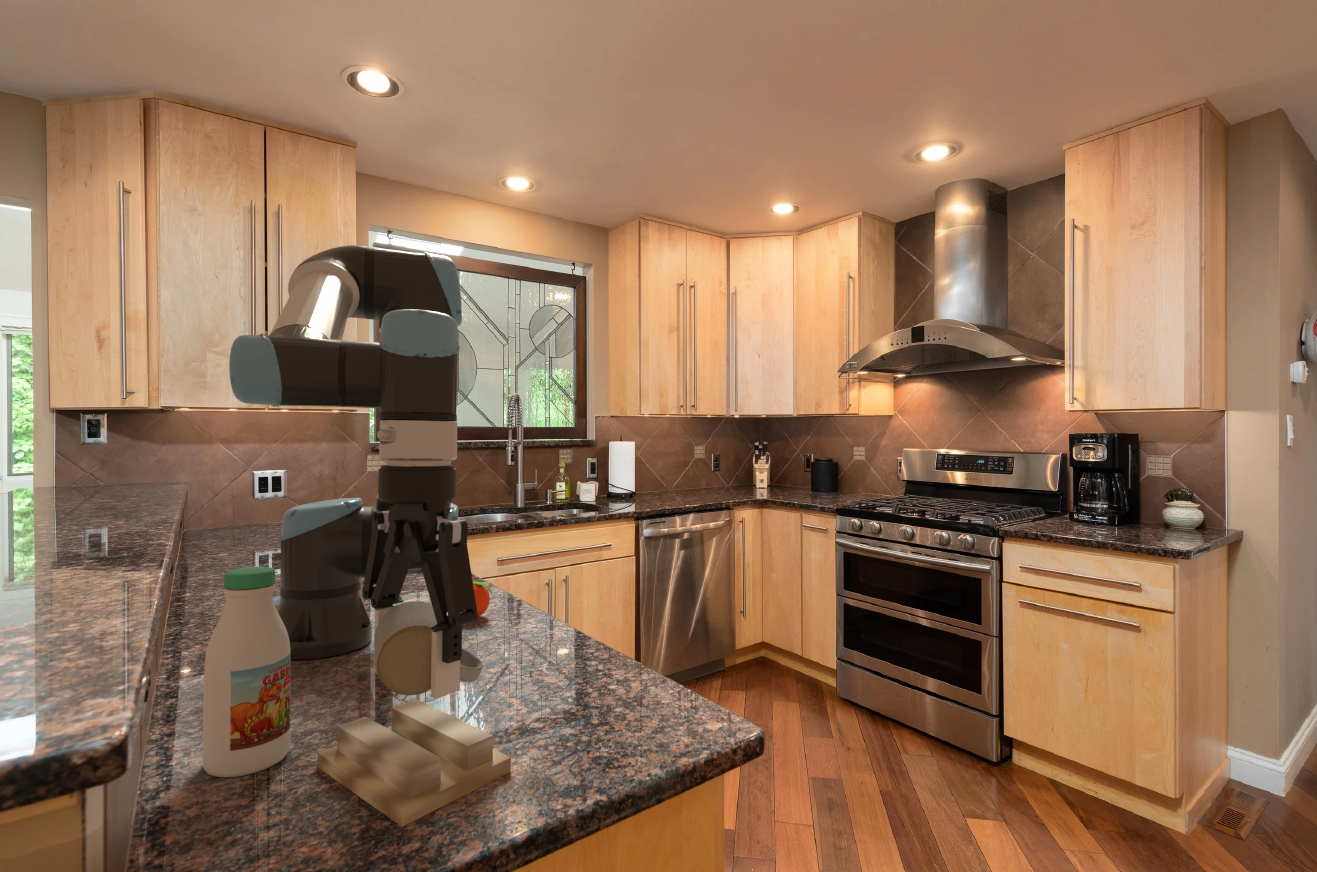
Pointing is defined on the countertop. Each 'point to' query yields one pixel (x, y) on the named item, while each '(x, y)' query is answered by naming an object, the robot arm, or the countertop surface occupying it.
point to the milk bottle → (247, 679)
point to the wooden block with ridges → (413, 760)
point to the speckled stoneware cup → (412, 650)
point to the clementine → (481, 597)
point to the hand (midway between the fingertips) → (415, 680)
